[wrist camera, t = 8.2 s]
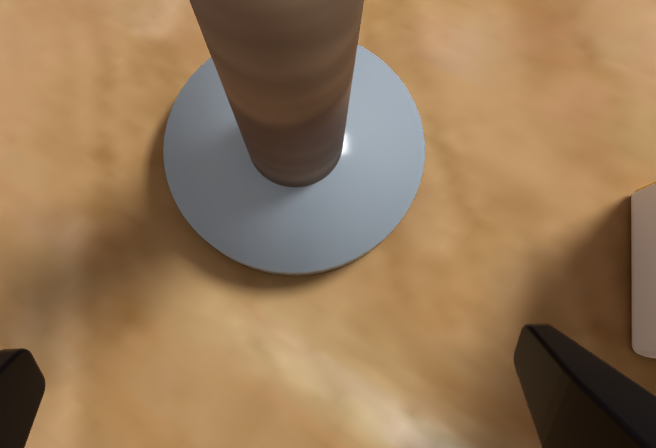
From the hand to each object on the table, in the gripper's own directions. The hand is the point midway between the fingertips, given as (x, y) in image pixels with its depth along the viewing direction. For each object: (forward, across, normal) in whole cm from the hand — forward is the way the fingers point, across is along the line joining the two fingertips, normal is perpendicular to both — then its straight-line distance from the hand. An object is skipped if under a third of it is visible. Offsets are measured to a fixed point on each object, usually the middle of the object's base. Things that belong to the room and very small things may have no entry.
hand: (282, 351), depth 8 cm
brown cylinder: (+12, 0, 0) cm, 12 cm away
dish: (+12, 0, +1) cm, 13 cm away
